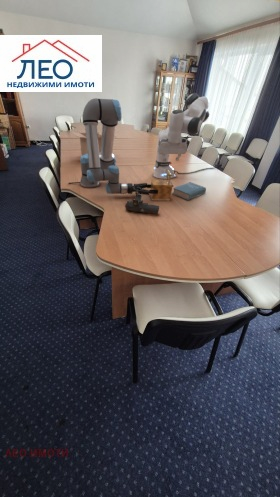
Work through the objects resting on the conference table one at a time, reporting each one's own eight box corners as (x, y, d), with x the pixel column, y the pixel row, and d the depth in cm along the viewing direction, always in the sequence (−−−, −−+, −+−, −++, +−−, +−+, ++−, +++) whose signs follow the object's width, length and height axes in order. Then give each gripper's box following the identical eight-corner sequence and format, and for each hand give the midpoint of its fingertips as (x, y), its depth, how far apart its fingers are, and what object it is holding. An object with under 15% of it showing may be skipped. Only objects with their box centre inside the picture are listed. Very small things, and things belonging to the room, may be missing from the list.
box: (116, 165, 229) (116, 136, 213) (83, 168, 214) (80, 137, 198) (102, 154, 259) (101, 128, 243) (71, 156, 244) (68, 129, 228)
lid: (170, 182, 168) (172, 170, 163) (173, 186, 160) (175, 174, 155) (151, 181, 166) (152, 169, 161) (153, 186, 159) (154, 174, 153)
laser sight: (156, 217, 143) (158, 203, 137) (123, 212, 146) (123, 198, 140) (159, 211, 151) (160, 197, 145) (127, 206, 154) (127, 192, 148)
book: (188, 187, 190) (190, 182, 187) (205, 193, 181) (206, 187, 178) (172, 193, 177) (173, 187, 174) (188, 200, 168) (190, 194, 165)
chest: (167, 195, 175) (169, 182, 168) (170, 200, 167) (172, 186, 160) (150, 194, 173) (151, 181, 167) (152, 200, 165) (153, 186, 159)
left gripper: (126, 187, 174) (153, 188, 176) (128, 199, 156) (158, 200, 159) (126, 178, 169) (154, 178, 172) (128, 189, 151) (160, 190, 154)
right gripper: (160, 139, 141) (158, 162, 149) (189, 140, 146) (185, 161, 154) (157, 137, 145) (155, 159, 154) (185, 138, 151) (182, 159, 159)
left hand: (156, 189), depth 165 cm, fingers closed on chest, 10 cm apart
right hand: (170, 160), depth 154 cm, fingers open, 8 cm apart
